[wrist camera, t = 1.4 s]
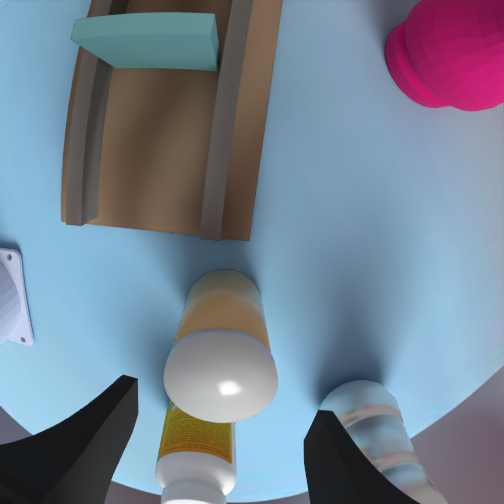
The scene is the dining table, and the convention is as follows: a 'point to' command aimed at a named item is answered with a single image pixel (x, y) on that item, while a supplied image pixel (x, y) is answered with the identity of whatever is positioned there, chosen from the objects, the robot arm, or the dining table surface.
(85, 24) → the pusher
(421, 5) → the pepper mill
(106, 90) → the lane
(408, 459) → the plastic bottle
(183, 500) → the supplement bottle
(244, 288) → the jar
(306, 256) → the dining table surface
